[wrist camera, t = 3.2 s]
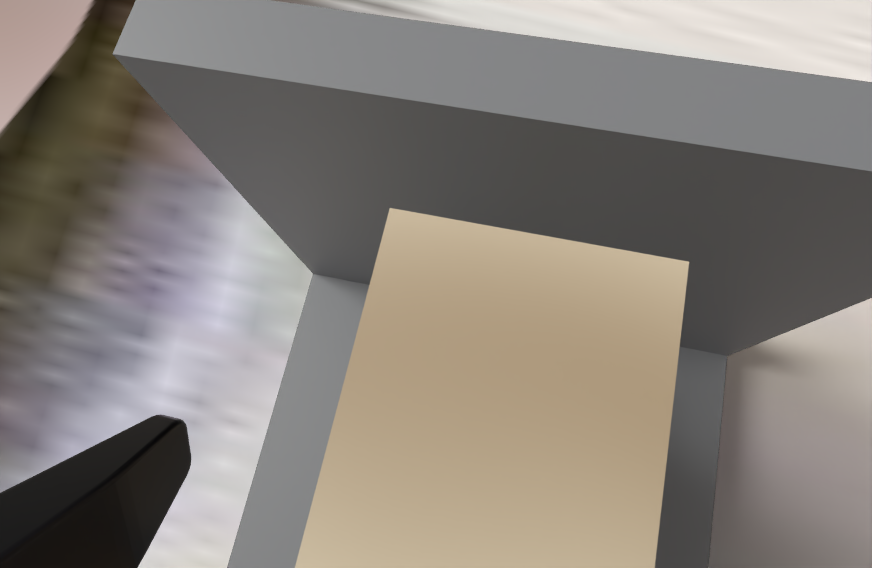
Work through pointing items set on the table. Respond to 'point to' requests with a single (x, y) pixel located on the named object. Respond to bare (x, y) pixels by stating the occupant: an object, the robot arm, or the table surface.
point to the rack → (514, 194)
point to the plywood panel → (501, 405)
